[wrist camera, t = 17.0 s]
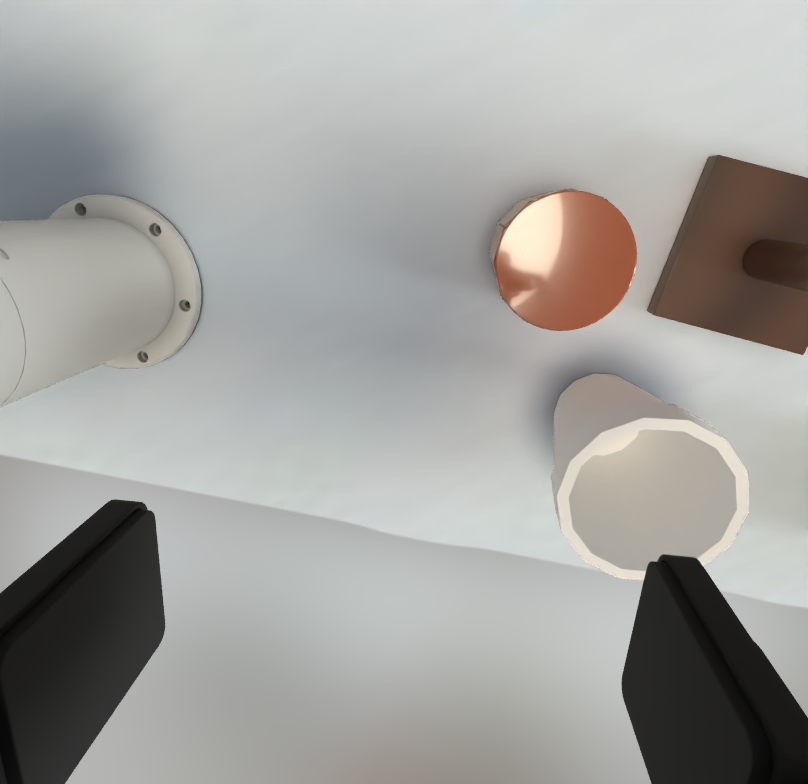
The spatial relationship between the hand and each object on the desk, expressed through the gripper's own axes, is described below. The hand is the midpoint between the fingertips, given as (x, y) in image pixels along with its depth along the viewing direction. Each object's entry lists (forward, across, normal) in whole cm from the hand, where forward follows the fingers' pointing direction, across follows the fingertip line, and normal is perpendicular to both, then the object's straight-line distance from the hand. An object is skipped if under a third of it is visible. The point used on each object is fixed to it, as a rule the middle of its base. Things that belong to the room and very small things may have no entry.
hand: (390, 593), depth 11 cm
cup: (+31, -7, -4) cm, 32 cm away
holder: (+31, -20, -5) cm, 37 cm away
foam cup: (+31, -12, +7) cm, 34 cm away
